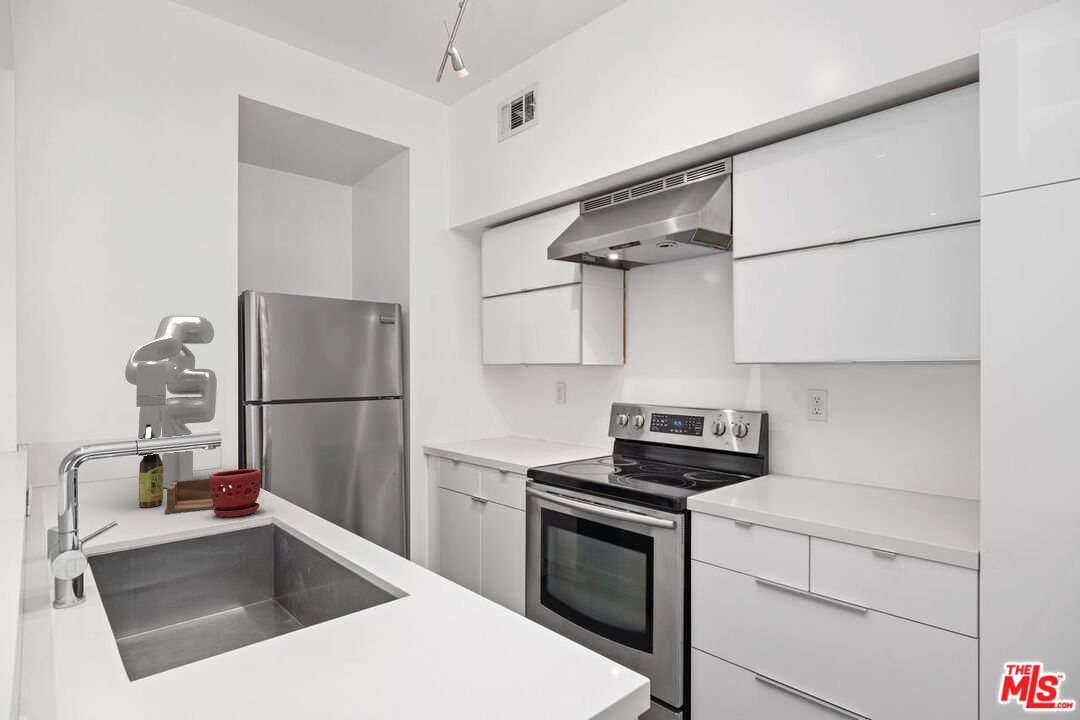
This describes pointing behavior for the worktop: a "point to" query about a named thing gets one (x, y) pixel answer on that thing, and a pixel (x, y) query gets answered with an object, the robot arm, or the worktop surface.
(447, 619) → the worktop surface
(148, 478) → the sauce bottle
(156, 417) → the robot arm
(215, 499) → the plant pot
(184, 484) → the u rest
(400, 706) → the worktop surface
